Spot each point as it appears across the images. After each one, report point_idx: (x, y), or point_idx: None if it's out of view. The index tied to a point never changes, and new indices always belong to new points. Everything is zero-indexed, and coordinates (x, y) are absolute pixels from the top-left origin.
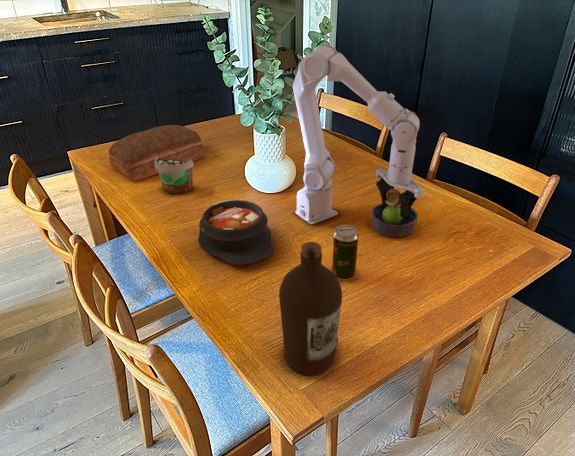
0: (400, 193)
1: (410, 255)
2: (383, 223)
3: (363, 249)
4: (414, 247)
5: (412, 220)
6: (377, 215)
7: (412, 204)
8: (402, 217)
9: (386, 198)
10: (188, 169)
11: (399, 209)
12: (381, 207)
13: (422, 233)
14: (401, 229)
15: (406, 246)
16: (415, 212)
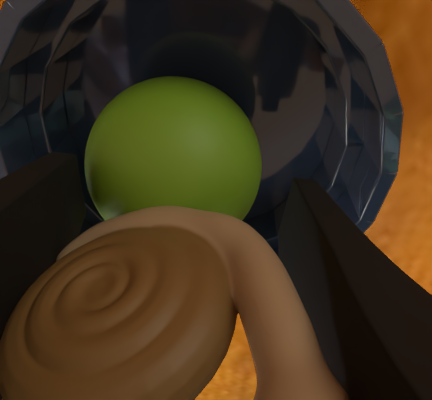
0: (191, 393)
1: (429, 256)
2: None
3: (238, 326)
4: (424, 199)
5: (308, 30)
6: (65, 152)
7: (391, 265)
8: (259, 149)
9: (41, 263)
10: None
11: (216, 192)
12: (13, 121)
13: (417, 33)
14: None
15: (380, 218)
16: (326, 6)
